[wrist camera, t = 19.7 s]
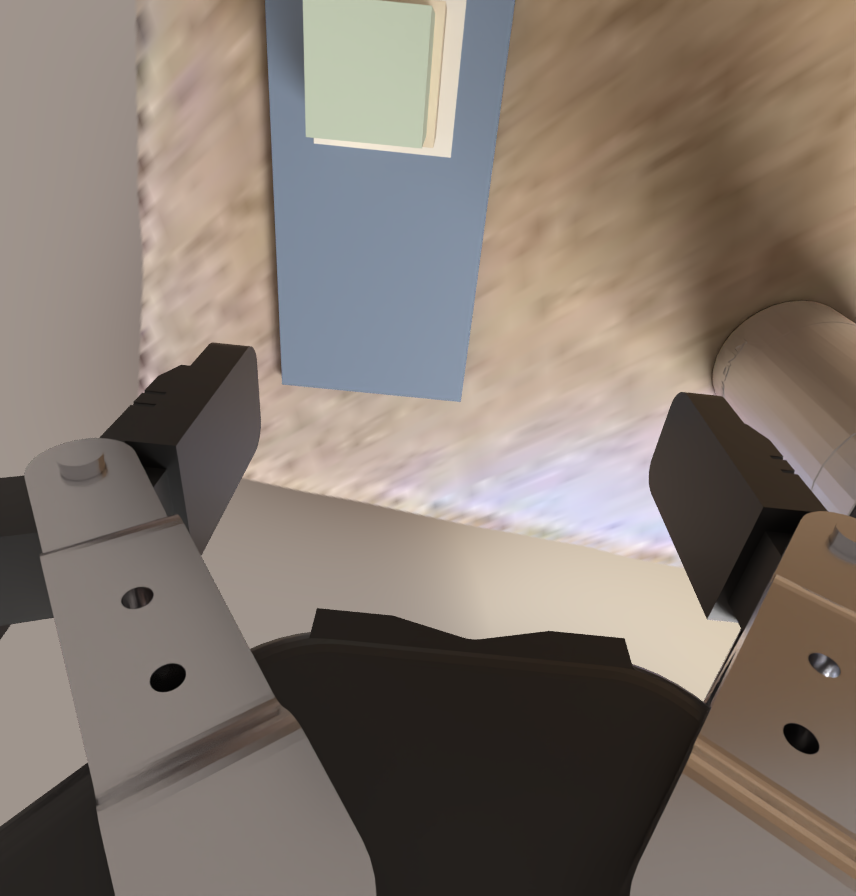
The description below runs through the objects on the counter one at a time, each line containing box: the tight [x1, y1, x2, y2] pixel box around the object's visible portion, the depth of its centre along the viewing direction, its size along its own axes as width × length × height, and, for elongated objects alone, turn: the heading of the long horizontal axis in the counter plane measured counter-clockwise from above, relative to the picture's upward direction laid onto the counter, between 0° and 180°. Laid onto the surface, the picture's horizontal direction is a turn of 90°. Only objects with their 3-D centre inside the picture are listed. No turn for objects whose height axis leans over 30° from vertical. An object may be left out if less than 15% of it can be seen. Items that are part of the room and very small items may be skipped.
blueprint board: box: [265, 0, 515, 402], centre depth 37 cm, size 13×26×1 cm, turn 175°
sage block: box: [303, 0, 435, 149], centre depth 27 cm, size 5×5×5 cm
